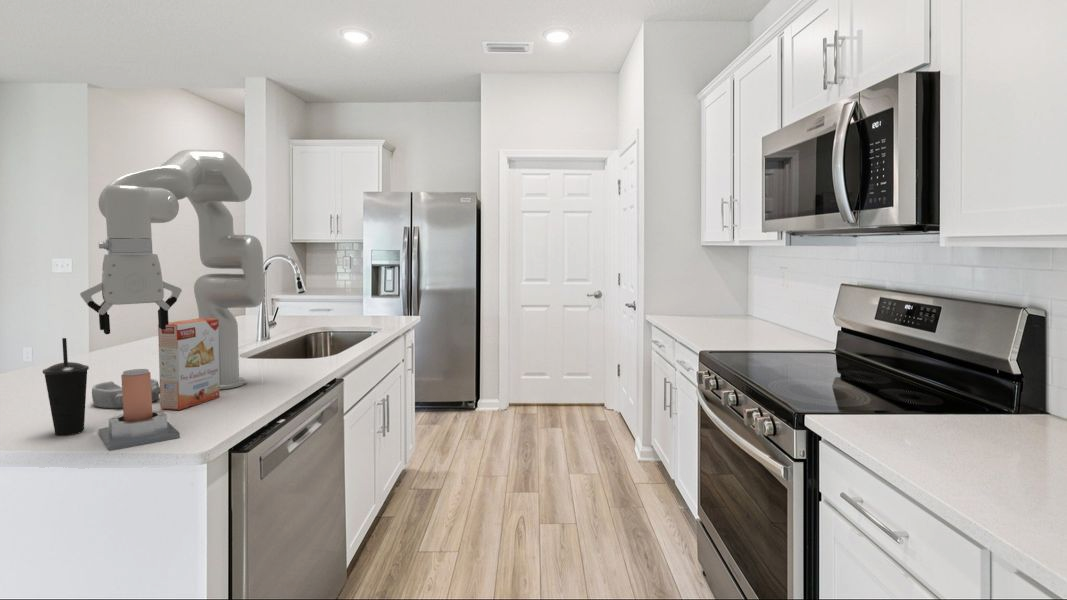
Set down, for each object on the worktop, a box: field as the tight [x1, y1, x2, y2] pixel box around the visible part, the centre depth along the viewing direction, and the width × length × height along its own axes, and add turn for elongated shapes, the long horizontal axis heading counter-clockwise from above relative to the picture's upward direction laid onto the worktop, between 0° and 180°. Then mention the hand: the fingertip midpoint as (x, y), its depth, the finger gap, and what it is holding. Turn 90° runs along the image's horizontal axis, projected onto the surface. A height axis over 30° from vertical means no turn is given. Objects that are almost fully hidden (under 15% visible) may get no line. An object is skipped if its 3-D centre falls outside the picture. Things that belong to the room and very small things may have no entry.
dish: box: [91, 378, 160, 409], centre depth 151 cm, size 14×14×5 cm
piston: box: [120, 368, 153, 422], centre depth 125 cm, size 5×5×13 cm
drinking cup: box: [42, 337, 90, 437], centre depth 126 cm, size 8×8×20 cm
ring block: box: [97, 410, 181, 451], centre depth 125 cm, size 14×12×4 cm
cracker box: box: [157, 317, 221, 411], centre depth 151 cm, size 14×6×21 cm, turn 168°
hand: (135, 331), depth 124 cm, fingers open, 9 cm apart
